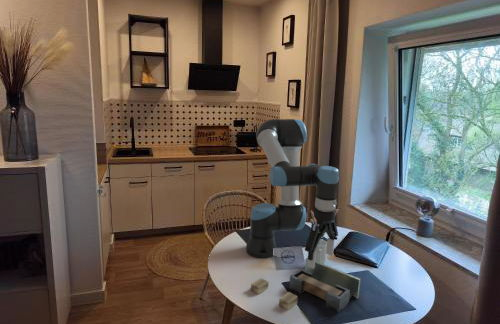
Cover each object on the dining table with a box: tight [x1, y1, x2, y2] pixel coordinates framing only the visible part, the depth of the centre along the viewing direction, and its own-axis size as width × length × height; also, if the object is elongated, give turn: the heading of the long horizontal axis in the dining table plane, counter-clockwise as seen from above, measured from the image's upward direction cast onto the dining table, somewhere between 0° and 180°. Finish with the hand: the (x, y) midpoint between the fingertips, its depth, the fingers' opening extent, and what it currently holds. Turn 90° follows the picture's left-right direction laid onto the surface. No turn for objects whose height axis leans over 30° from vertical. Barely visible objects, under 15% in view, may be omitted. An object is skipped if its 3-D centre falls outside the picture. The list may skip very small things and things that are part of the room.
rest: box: [250, 277, 298, 311], centre depth 135 cm, size 18×6×3 cm, turn 48°
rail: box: [297, 274, 343, 301], centre depth 136 cm, size 18×4×4 cm, turn 48°
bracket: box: [289, 257, 361, 313], centre depth 138 cm, size 24×14×8 cm, turn 48°
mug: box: [315, 238, 327, 265], centre depth 156 cm, size 10×7×12 cm, turn 173°
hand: (320, 260), depth 134 cm, fingers open, 13 cm apart
